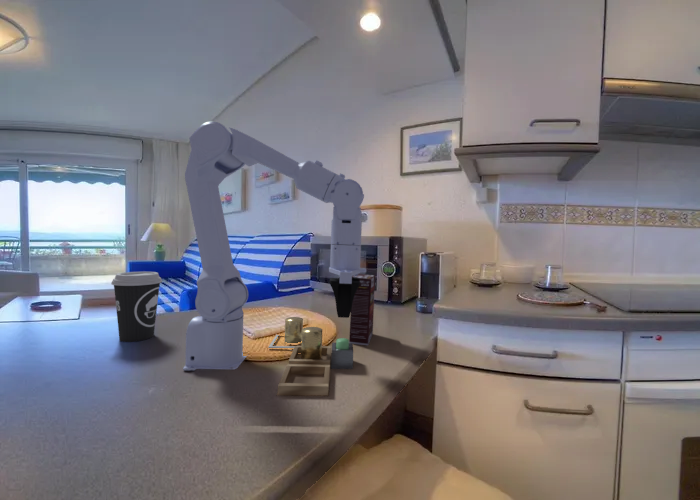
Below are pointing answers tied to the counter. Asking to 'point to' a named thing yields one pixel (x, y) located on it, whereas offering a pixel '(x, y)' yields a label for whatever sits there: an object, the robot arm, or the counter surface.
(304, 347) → the seated billet
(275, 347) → the grey square frame
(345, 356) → the button pedestal
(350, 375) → the counter surface
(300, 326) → the cylinder
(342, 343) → the button
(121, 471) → the counter surface
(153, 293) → the coffee cup
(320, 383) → the holder tray
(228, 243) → the robot arm
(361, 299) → the supplement box
